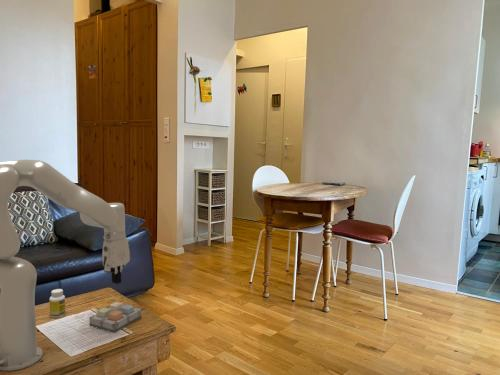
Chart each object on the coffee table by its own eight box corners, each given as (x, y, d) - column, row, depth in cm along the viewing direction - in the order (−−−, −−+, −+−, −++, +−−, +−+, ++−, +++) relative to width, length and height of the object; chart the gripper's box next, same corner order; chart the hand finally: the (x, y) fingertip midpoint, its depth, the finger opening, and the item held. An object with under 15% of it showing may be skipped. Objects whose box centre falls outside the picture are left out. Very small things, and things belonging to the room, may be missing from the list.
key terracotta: (115, 322, 139) (115, 315, 139) (108, 320, 141) (108, 313, 141) (122, 318, 142) (122, 312, 142) (115, 317, 144) (115, 310, 144)
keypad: (114, 333, 137) (114, 324, 137) (89, 325, 142) (89, 317, 142) (141, 317, 150) (141, 309, 149) (117, 311, 155) (117, 303, 154)
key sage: (104, 319, 142) (104, 312, 141) (97, 317, 143) (97, 310, 143) (111, 315, 145) (111, 309, 144) (104, 314, 146) (104, 307, 146)
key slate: (127, 316, 145) (127, 309, 145) (120, 314, 146) (120, 307, 146) (133, 312, 148) (133, 306, 148) (127, 311, 149) (126, 304, 149)
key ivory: (116, 313, 147) (116, 306, 147) (109, 311, 149) (109, 305, 148) (122, 310, 150) (122, 303, 150) (116, 308, 152) (116, 301, 151)
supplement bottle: (61, 318, 148) (60, 293, 147) (47, 318, 148) (46, 293, 147) (68, 312, 153) (67, 288, 152) (54, 312, 153) (53, 288, 152)
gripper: (107, 241, 138) (109, 291, 140) (136, 232, 151) (137, 278, 154) (92, 239, 141) (94, 287, 143) (121, 230, 155) (123, 275, 157)
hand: (116, 282), depth 149 cm, fingers closed
